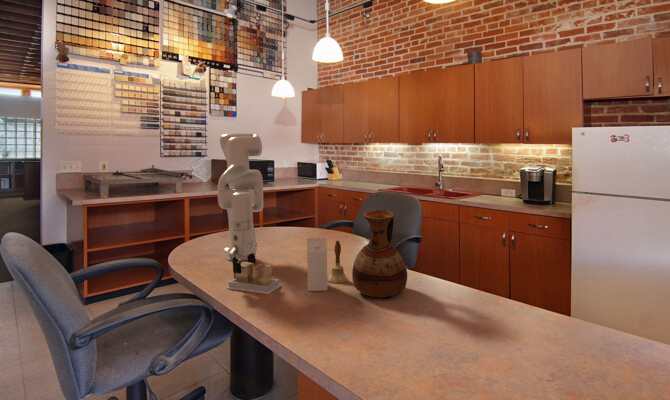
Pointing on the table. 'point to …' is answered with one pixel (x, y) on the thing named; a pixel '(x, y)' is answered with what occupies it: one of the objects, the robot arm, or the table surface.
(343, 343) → the table surface
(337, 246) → the hand bell
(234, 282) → the grey divided tray
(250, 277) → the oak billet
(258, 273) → the block
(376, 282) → the ceramic pitcher
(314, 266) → the milk carton
